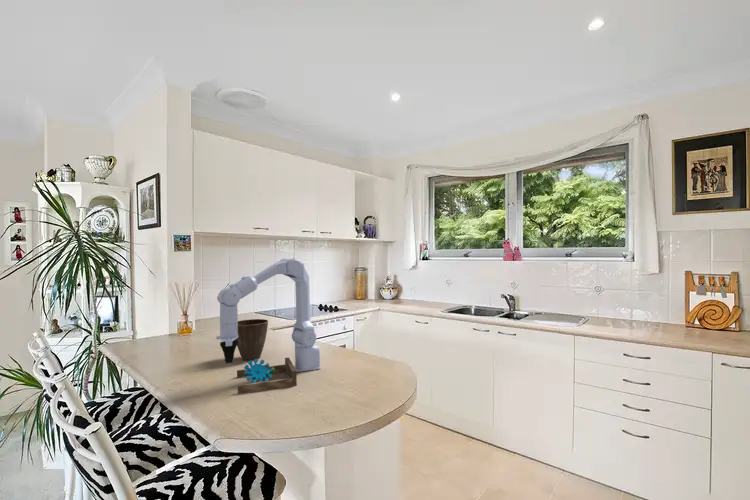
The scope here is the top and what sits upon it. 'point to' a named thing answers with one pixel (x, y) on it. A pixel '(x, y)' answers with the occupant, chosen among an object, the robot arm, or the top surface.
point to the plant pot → (251, 338)
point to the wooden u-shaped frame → (272, 384)
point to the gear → (258, 371)
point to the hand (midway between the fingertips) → (229, 362)
